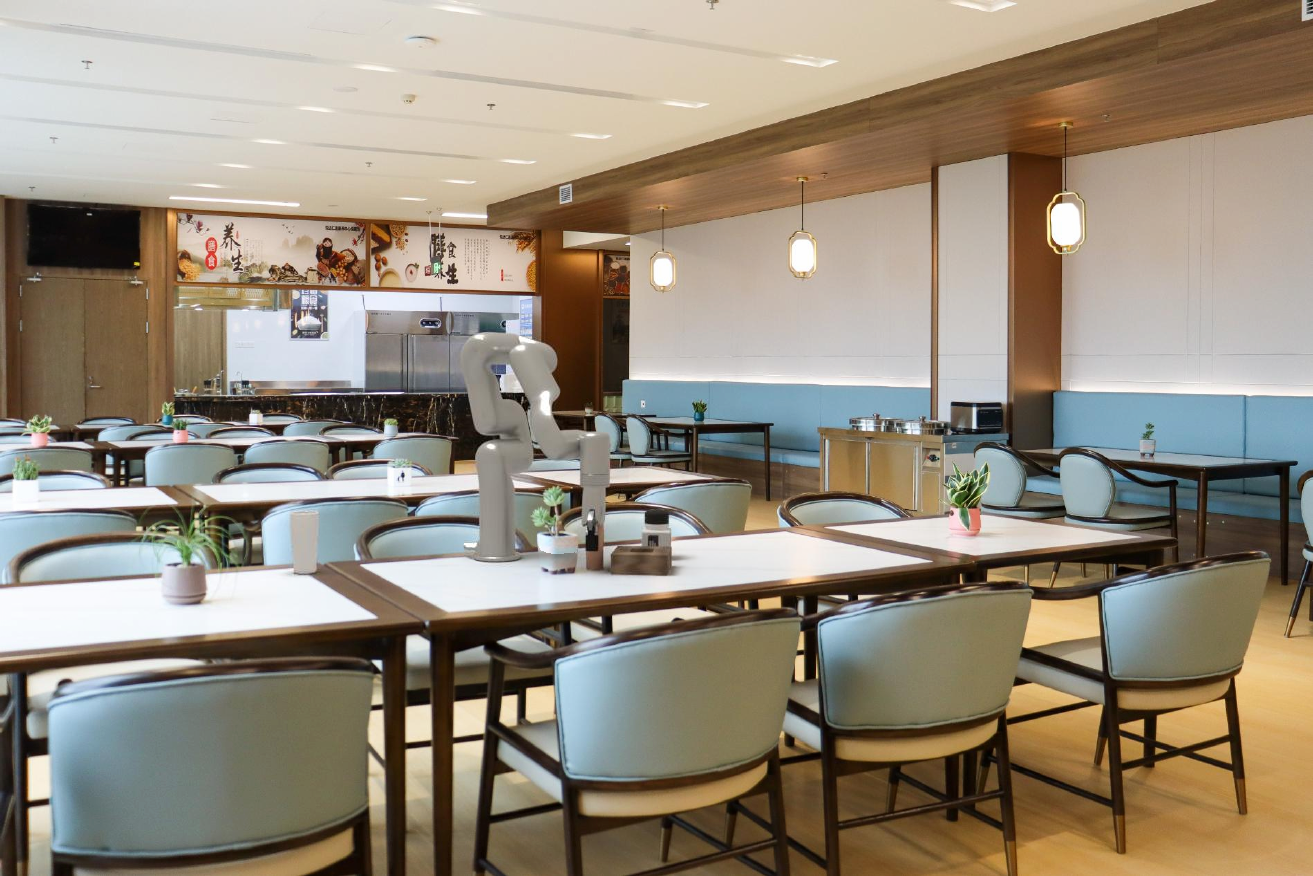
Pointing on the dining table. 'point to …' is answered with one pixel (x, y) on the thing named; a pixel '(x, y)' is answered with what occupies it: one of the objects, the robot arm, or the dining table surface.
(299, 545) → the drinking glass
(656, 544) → the container
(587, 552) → the peg
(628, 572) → the socket block
